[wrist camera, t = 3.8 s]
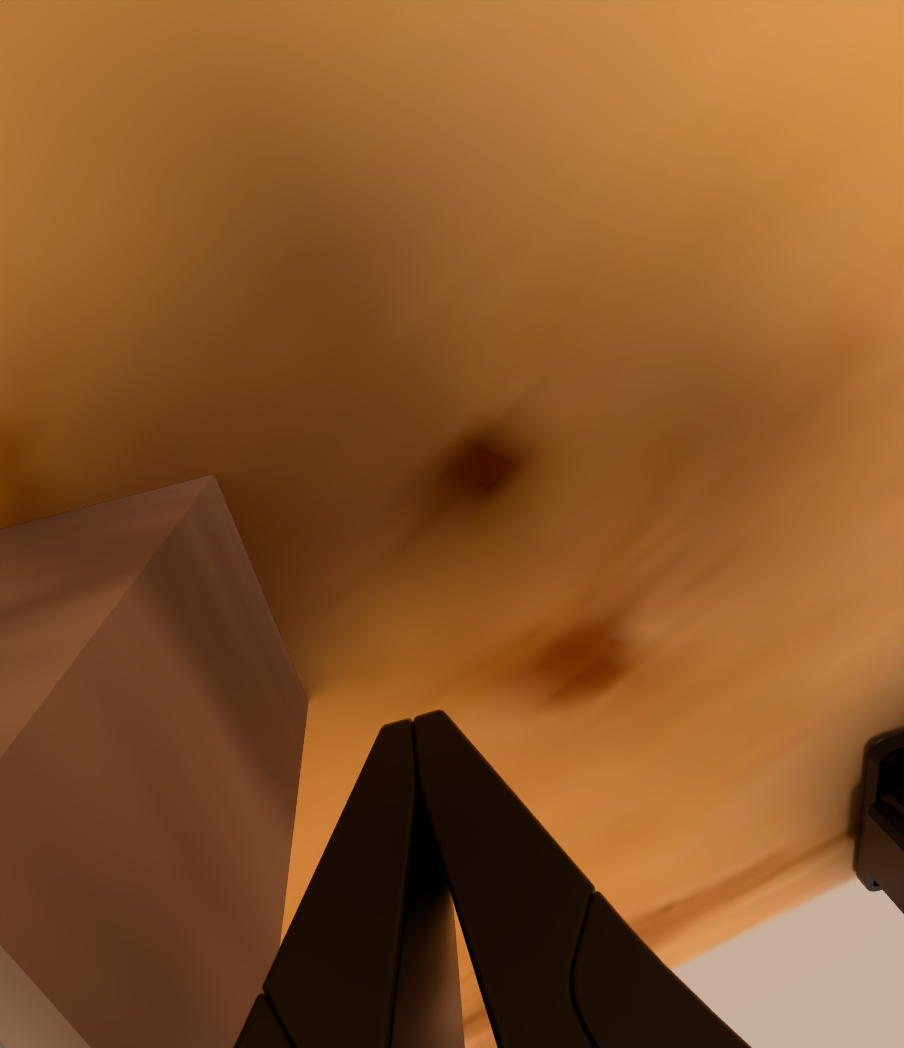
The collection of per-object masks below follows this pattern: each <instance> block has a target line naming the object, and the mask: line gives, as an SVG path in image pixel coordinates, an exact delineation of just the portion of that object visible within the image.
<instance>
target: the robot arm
mask: <svg viewBox="0 0 904 1048" xmlns="http://www.w3.org/2000/svg"><path fill="white" fill-rule="evenodd" d="M857 878H858V879H859V880H860V881H861V883H862V884H863V885H864V886H865V887H866V888H867V889H868V890H869V891H879V890H883V891H884V892H885V893H886V894H887V895H888V896H889V898H890V899H891V900H892V901H893V902H894V903H895V904H896V906H897V907H898V908H899V909H900V910H901V911H902V912H903V914H904V734H901V735H898V736H895V737H891V738H888V739H885V740H882V741H880V742H878V743H877V744H876V745H874V746H873V748H872V749H871V750H870V752H869V755H868V762H867V773H866V783H865V793H864V804H863V814H862V824H861V835H860V845H859V855H858V866H857ZM453 902H454V906H455V909H456V912H457V916H458V919H459V922H460V925H461V929H462V932H463V935H464V939H465V942H466V945H467V948H468V952H469V955H470V958H471V962H472V965H473V968H474V971H475V975H476V978H477V981H478V985H479V988H480V991H481V994H482V998H483V1001H484V1004H485V1008H486V1011H487V1014H488V1017H489V1021H490V1024H491V1027H492V1031H493V1034H494V1037H495V1040H496V1044H497V1047H498V1048H751V1047H750V1046H749V1045H748V1044H747V1043H746V1042H745V1041H744V1040H743V1039H742V1038H741V1037H740V1036H738V1035H737V1034H736V1033H735V1032H734V1031H733V1030H732V1029H731V1028H730V1027H729V1026H728V1025H727V1024H726V1023H725V1022H724V1021H722V1020H721V1019H720V1018H719V1017H718V1016H717V1015H716V1014H715V1013H714V1012H713V1011H712V1010H711V1009H710V1008H709V1007H708V1006H707V1005H706V1004H705V1003H704V1002H703V1001H702V1000H701V999H700V998H699V997H698V996H697V995H695V993H693V992H692V991H691V990H690V989H689V988H688V987H687V986H686V985H685V984H684V983H683V982H682V981H681V980H680V979H679V978H678V977H677V976H676V975H675V974H674V973H673V972H672V971H671V970H670V969H669V968H668V967H667V966H666V965H665V964H664V963H663V962H662V961H661V960H660V959H659V957H658V956H657V955H656V954H655V953H654V952H653V951H652V950H651V949H650V948H649V947H648V945H647V944H646V943H645V942H644V941H643V940H642V939H641V938H640V937H639V936H638V935H637V933H636V932H635V931H634V930H633V929H632V928H631V927H630V926H629V925H628V924H627V923H626V921H625V920H624V919H623V918H622V917H621V916H620V915H619V913H618V912H617V911H616V910H615V909H614V908H613V906H612V905H611V904H610V903H609V902H608V901H607V899H606V898H605V897H604V896H603V895H602V894H601V893H600V892H599V891H595V887H594V885H593V884H592V883H591V881H590V880H589V879H588V878H587V877H586V876H585V874H584V873H583V872H582V871H581V870H580V869H579V867H578V866H577V865H576V864H575V863H574V862H573V860H572V859H571V858H570V857H569V856H568V855H567V853H566V852H565V851H564V850H563V849H562V848H561V846H560V845H559V844H558V843H557V842H556V841H555V840H554V838H553V837H552V836H551V835H550V834H549V833H548V831H547V830H546V829H545V828H544V827H543V826H542V824H541V823H540V822H539V821H538V820H537V819H536V817H535V816H534V815H533V814H532V813H531V812H530V810H529V809H528V808H527V807H526V806H525V805H524V803H523V802H522V801H521V800H520V799H519V798H518V796H517V795H516V794H515V793H514V792H513V791H512V789H511V788H510V787H509V786H508V785H507V784H506V782H505V781H504V780H503V779H502V778H501V777H500V776H499V774H498V773H497V772H496V771H495V770H494V769H493V767H492V766H491V765H490V764H489V763H488V762H487V760H486V759H485V758H484V757H483V756H482V755H481V753H480V752H479V751H478V750H477V749H476V748H475V746H474V745H473V744H472V743H471V742H470V741H469V739H468V738H467V737H466V736H465V735H464V734H463V732H462V731H461V730H460V729H459V728H458V727H457V725H456V724H455V723H454V722H453V721H452V720H451V718H450V717H449V716H448V715H447V714H446V713H445V712H444V711H443V710H435V711H432V712H428V713H425V714H421V715H418V716H416V717H415V718H414V721H412V720H411V719H409V718H408V719H403V720H400V721H396V722H393V723H389V724H386V725H384V726H383V727H382V728H381V729H380V731H379V734H378V736H377V738H376V740H375V742H374V744H373V747H372V749H371V751H370V753H369V755H368V757H367V760H366V762H365V764H364V766H363V768H362V770H361V773H360V775H359V777H358V779H357V781H356V783H355V786H354V788H353V790H352V792H351V794H350V796H349V799H348V801H347V803H346V805H345V807H344V809H343V812H342V814H341V816H340V818H339V820H338V822H337V825H336V827H335V829H334V831H333V833H332V835H331V838H330V840H329V842H328V844H327V846H326V848H325V851H324V853H323V855H322V857H321V859H320V861H319V864H318V866H317V868H316V870H315V872H314V874H313V877H312V879H311V881H310V883H309V885H308V887H307V890H306V892H305V894H304V896H303V898H302V900H301V903H300V905H299V907H298V909H297V911H296V913H295V916H294V918H293V920H292V922H291V924H290V926H289V929H288V931H287V933H286V935H285V937H284V939H283V942H282V944H281V946H280V948H279V950H278V952H277V955H276V957H275V959H274V961H273V963H272V965H271V968H270V970H269V972H268V974H267V976H266V979H265V981H264V983H263V985H262V990H263V992H264V994H263V993H260V994H258V995H257V997H256V999H255V1001H254V1004H253V1006H252V1008H251V1010H250V1012H249V1015H248V1017H247V1019H246V1021H245V1023H244V1025H243V1028H242V1030H241V1032H240V1034H239V1036H238V1038H237V1040H236V1042H235V1044H234V1047H233V1048H465V1045H464V1032H463V1019H462V1007H461V994H460V982H459V969H458V956H457V944H456V931H455V919H454V908H453Z"/></svg>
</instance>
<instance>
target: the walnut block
mask: <svg viewBox="0 0 904 1048" xmlns="http://www.w3.org/2000/svg"><path fill="white" fill-rule="evenodd" d="M307 709H308V700H307V698H306V695H305V693H304V690H303V688H302V685H301V683H300V681H299V678H298V676H297V673H296V671H295V668H294V666H293V664H292V661H291V659H290V656H289V654H288V651H287V649H286V647H285V644H284V642H283V639H282V637H281V634H280V632H279V630H278V627H277V625H276V622H275V620H274V617H273V615H272V612H271V610H270V608H269V605H268V603H267V600H266V598H265V595H264V593H263V591H262V588H261V586H260V583H259V581H258V578H257V576H256V574H255V571H254V569H253V566H252V564H251V561H250V559H249V556H248V554H247V552H246V549H245V547H244V544H243V542H242V539H241V537H240V535H239V532H238V530H237V527H236V525H235V522H234V520H233V518H232V515H231V513H230V510H229V508H228V505H227V503H226V500H225V498H224V496H223V493H222V491H221V488H220V486H219V483H218V481H217V479H216V476H215V474H213V475H209V476H205V477H201V478H197V479H193V480H189V481H186V482H182V483H178V484H174V485H170V486H166V487H162V488H158V489H154V490H151V491H147V492H143V493H139V494H135V495H131V496H127V497H123V498H119V499H115V500H112V501H108V502H104V503H100V504H96V505H92V506H88V507H84V508H80V509H76V510H73V511H69V512H65V513H61V514H57V515H53V516H49V517H45V518H41V519H38V520H34V521H30V522H26V523H22V524H18V525H14V526H10V527H6V528H2V529H0V1048H233V1047H234V1044H235V1042H236V1040H237V1038H238V1036H239V1034H240V1032H241V1030H242V1028H243V1025H244V1023H245V1021H246V1019H247V1017H248V1015H249V1012H250V1010H251V1008H252V1006H253V1004H254V1001H255V999H256V997H257V995H258V994H260V993H263V994H264V992H263V990H262V985H263V983H264V981H265V979H266V976H267V974H268V972H269V970H270V968H271V965H272V963H273V961H274V959H275V957H276V955H277V952H278V950H279V948H280V940H281V931H282V923H283V914H284V906H285V897H286V889H287V880H288V872H289V863H290V854H291V846H292V837H293V829H294V820H295V812H296V803H297V795H298V786H299V778H300V769H301V761H302V752H303V744H304V735H305V727H306V718H307Z"/></svg>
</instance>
